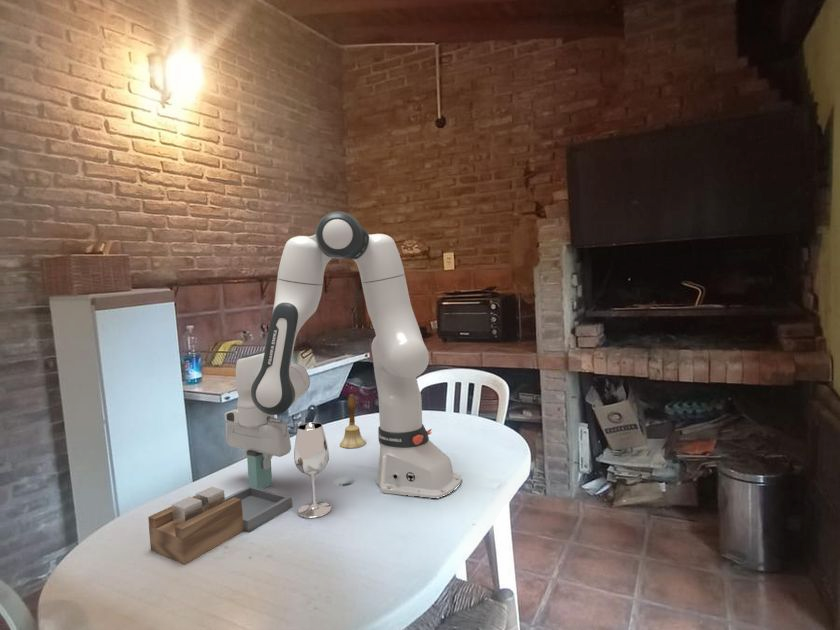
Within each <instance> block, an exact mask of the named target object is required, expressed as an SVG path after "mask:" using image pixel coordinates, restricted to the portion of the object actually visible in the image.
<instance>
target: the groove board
mask: <svg viewBox="0 0 840 630" xmlns="http://www.w3.org/2000/svg"><path fill="white" fill-rule="evenodd" d="M191 497H192V498H195V499H196V495H193V496H191ZM147 518H148V531H149V544H150V545H149V546H150V551H152V552H155V553H157V554H160V555H162V556H164V557H167V558H170V559H171V560H174V561H176V562H179V563H182V564H183V565H186V564H188V563H190V562H192V561H193V560H195V559H197V558H199V557H200V556H202V555H204V554H205V553H208V552H210V551H211V550H212V549H215V548H216V547H219V545H221V544H223V543H225V542H227V541H228V540H230V539H232V538H234V537H235V536H237V535H239V534H241V533H243V532H245V531H244V528H243V513H242V503H241V499H238V498H235V497H234V498H232V499H230V500H228V501H226V502H224V503H222V504H220V505H218V506H216V507H214V508H212V509H209V510H207V511H205V512H203V513H201V514H199V515H197V516H195V517H193V518H191V519H189V520H187V521H185V522H183V523H181V524H179V525H176V524H173V514H172V505H171V506H169V507H167V508H165V509H163V510H160V511H158V512H156V513H153V514H151V515H150V516H148V517H147Z"/></svg>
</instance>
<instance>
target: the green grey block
mask: <svg viewBox="0 0 840 630" xmlns="http://www.w3.org/2000/svg"><path fill="white" fill-rule="evenodd" d="M246 458H247V459H246V460H247V474H248V475H247V477H248V487H249V486H254V487H257V488H261V489H262V488H263V489H264V487H265V488H266V486H267V487H269V486H271V485H273V474H272V460H271V461H270V468H269V469H267V470H265V469H262V468H261V462H263V461H264V458H265V457H263V453H259V452H256V451H252V450H248V451H247V456H246ZM270 484H271V485H270ZM268 485H269V486H268Z"/></svg>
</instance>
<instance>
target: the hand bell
mask: <svg viewBox="0 0 840 630" xmlns="http://www.w3.org/2000/svg"><path fill="white" fill-rule="evenodd" d="M356 407H357V402H356V399H355V395H354V394H353V393H351V394H348V399H347V410H348V415H349V422H348V424H349V425H348V426H346V427H345V428H344V435H343V439H342V440H341V441H340V443H339V446H340V447H341V448H344V449H358V448H361V447H363V446H365V445H366V444H367V442H366V439H364V438H363V436H362V434H361V431H360V427H359V426H358V425H357V424H355V422H356V419H355V412H356Z"/></svg>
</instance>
